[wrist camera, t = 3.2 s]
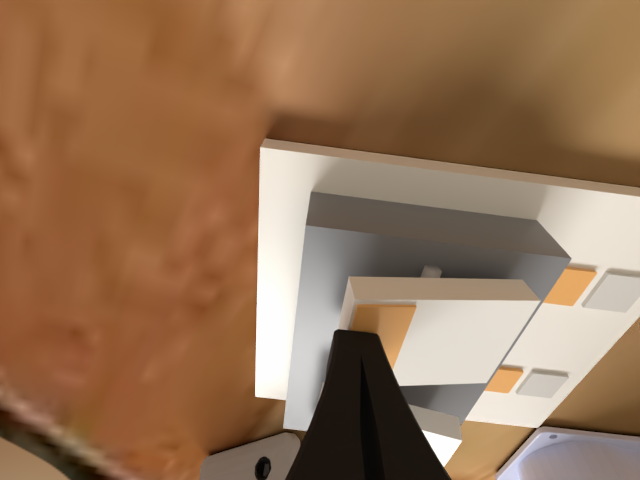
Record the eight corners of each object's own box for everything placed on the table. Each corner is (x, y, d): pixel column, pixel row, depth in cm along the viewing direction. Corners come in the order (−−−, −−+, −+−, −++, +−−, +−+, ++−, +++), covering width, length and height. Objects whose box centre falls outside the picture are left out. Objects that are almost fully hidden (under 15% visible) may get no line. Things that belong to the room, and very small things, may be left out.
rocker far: (459, 417, 15) (462, 443, 14) (429, 464, 17) (430, 488, 16) (322, 381, 15) (317, 404, 15) (312, 432, 18) (307, 454, 17)
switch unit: (713, 197, 14) (832, 258, 11) (530, 412, 23) (563, 482, 20) (265, 138, 13) (240, 183, 10) (258, 382, 22) (244, 448, 19)
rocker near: (522, 279, 12) (542, 303, 11) (474, 360, 14) (487, 385, 13) (348, 276, 11) (355, 301, 10) (329, 363, 13) (334, 390, 12)
